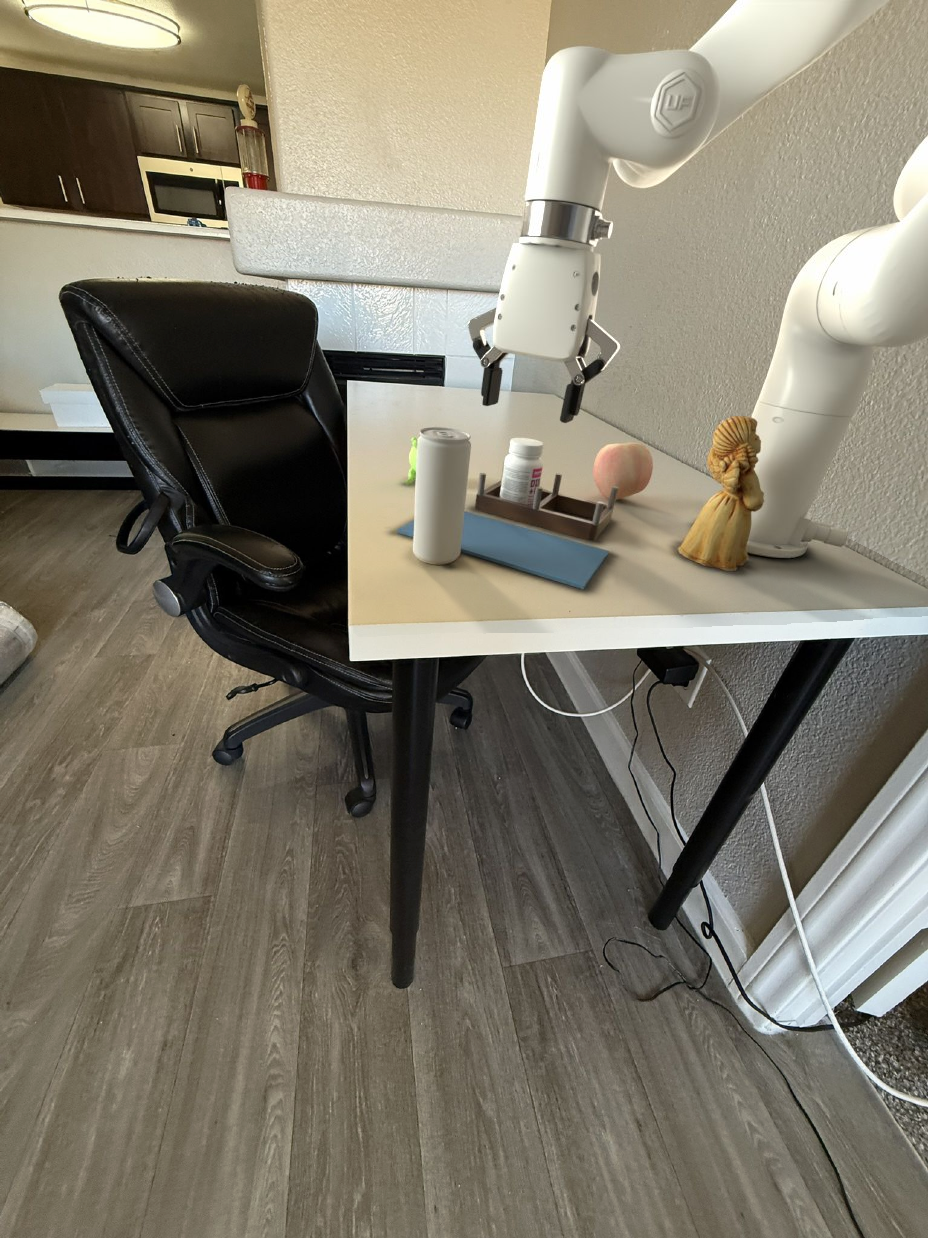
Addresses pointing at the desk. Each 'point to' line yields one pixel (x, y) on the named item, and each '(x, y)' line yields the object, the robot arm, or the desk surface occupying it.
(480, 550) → the mat
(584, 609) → the desk surface
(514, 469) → the pill bottle
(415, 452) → the green toy figure
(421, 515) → the beverage can
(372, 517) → the desk surface
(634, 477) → the peach
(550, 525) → the brown divided tray
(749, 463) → the figurine
